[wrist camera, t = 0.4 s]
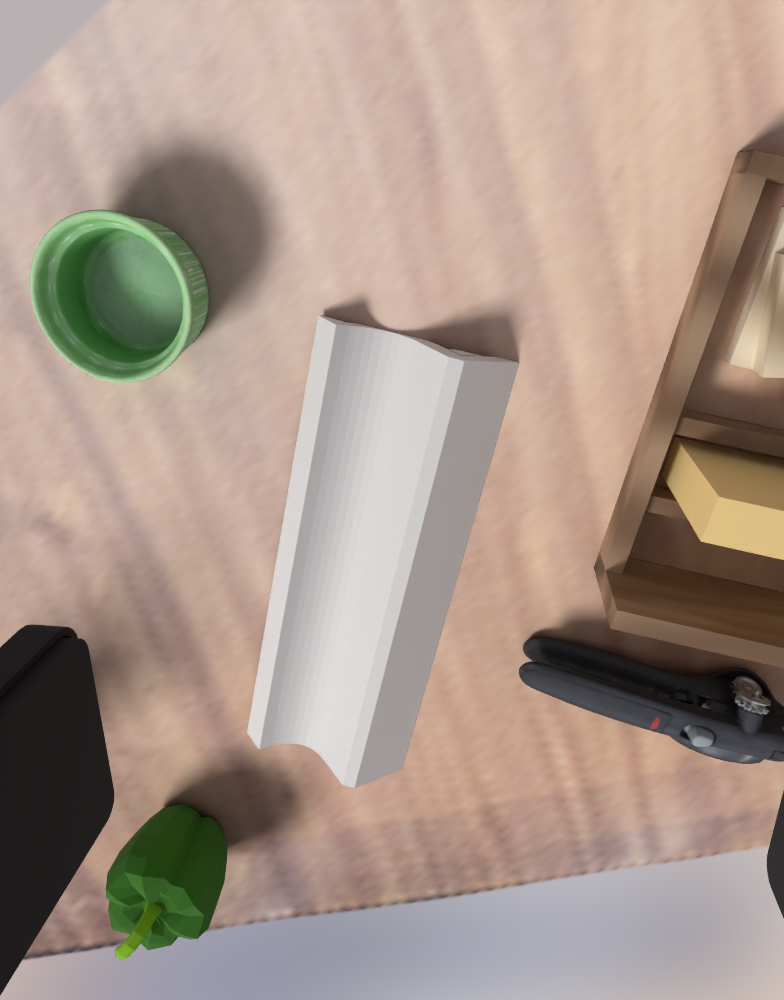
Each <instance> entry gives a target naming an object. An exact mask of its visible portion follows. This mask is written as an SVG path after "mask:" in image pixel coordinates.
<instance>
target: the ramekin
mask: <svg viewBox="0 0 784 1000" xmlns="http://www.w3.org/2000/svg"><path fill="white" fill-rule="evenodd" d="M30 291H31V299H32V304H33V308H34V311H35V314H36V317H37V319H38V321H39V324H40V326H41V328H42V329H43V331H44V333H45V335H46V336H47V338H48V339H49V341H50V342H51V343H52V345H53V346H54V347H55V349H56V350H57V351H58V352H59V353H60V354H61V355H62V356H63V357H64V358H65V359H66V360H68V361H69V362H70V363H71V364H73V365H74V366H75V367H77V368H78V369H80V370H81V371H83V372H85V373H87V374H89V375H91V376H93V377H96V378H98V379H102V380H106V381H110V382H117V383H130V382H137V381H142V380H145V379H148V378H151V377H153V376H155V375H157V374H159V373H161V372H162V371H164V370H165V369H167V368H168V367H169V366H170V365H171V364H172V363H173V362H174V361H175V360H176V359H177V358H178V357H179V355H180V354H181V353H182V352H183V351H184V350H185V349H186V348H187V347H188V346H189V345H191V344H192V343H193V341H194V340H195V339H196V338H197V336H198V335H199V333H200V331H201V329H202V327H203V325H204V323H205V320H206V316H207V312H208V301H209V296H208V287H207V281H206V278H205V275H204V272H203V269H202V266H201V265H200V262H199V260H198V259H197V257H196V256H195V254H194V252H193V251H192V250H191V248H190V247H189V246H188V245H187V243H186V242H185V241H184V240H182V239H181V238H180V237H179V236H178V235H177V234H176V233H174V232H173V231H172V230H170V229H169V228H167V227H165V226H163V225H161V224H159V223H156V222H154V221H151V220H148V219H143V218H138V217H131V216H128V215H126V214H123V213H119V212H115V211H109V210H88V211H83V212H79V213H76V214H73V215H70V216H68V217H66V218H64V219H63V220H61V221H59V222H58V223H57V224H56V225H54V226H53V227H52V228H51V229H50V230H49V231H48V232H47V234H46V235H45V236H44V237H43V239H42V240H41V242H40V244H39V246H38V248H37V250H36V252H35V255H34V258H33V262H32V266H31V272H30Z"/></svg>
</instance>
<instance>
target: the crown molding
mask: <svg viewBox="0 0 784 1000" xmlns="http://www.w3.org/2000/svg"><path fill="white" fill-rule="evenodd" d="M518 366H519V362H515V361H511V360H507V359H503V358H498V357H485V356H483V355H478V354H473V353H468V352H465V351H461V350H455V349H446V348H444V347H442V346H440V345H437V344H435V343H433V342H430V341H428V340H424V339H420V338H416V337H412V336H407V335H403V334H399V333H395V332H391V331H387V330H383V329H378V328H374V327H370V326H366V325H362V324H358V323H347V322H343V321H341V320H336V319H333V318H329V317H325V316H323V315H318V319H317V325H316V331H315V337H314V343H313V349H312V355H311V360H310V366H309V372H308V378H307V384H306V390H305V396H304V402H303V407H302V413H301V419H300V425H299V431H298V437H297V443H296V449H295V455H294V460H293V466H292V472H291V478H290V484H289V490H288V496H287V502H286V507H285V513H284V519H283V525H282V531H281V537H280V543H279V549H278V554H277V560H276V566H275V572H274V578H273V584H272V590H271V596H270V602H269V607H268V613H267V619H266V625H265V631H264V637H263V643H262V649H261V654H260V660H259V666H258V672H257V678H256V684H255V690H254V696H253V702H252V707H251V713H250V719H249V725H248V731H247V733H248V734H249V736H250V737H251V739H252V740H253V741H254V743H255V744H256V746H257V747H258V749H259V750H261V749H264V748H267V747H270V746H273V745H278V744H288V743H293V744H300V745H304V746H307V747H309V748H311V749H313V750H314V751H316V752H317V753H318V754H319V755H320V756H321V757H322V758H323V759H324V761H325V762H326V763H327V765H328V766H329V767H330V769H331V770H332V771H333V773H334V774H335V775H336V777H337V778H338V779H339V781H340V782H341V783H342V785H346V786H349V787H353V788H356V787H358V786H361V785H363V784H366V783H368V782H371V781H373V780H376V779H378V778H381V777H383V776H385V775H388V774H390V773H393V772H395V771H398V770H400V769H403V765H404V762H405V758H406V755H407V751H408V748H409V744H410V741H411V737H412V734H413V730H414V727H415V723H416V720H417V716H418V713H419V710H420V706H421V703H422V699H423V696H424V692H425V689H426V685H427V682H428V678H429V675H430V671H431V668H432V664H433V661H434V657H435V654H436V650H437V647H438V644H439V640H440V637H441V633H442V630H443V626H444V623H445V619H446V616H447V612H448V609H449V605H450V602H451V598H452V595H453V591H454V588H455V584H456V581H457V578H458V574H459V571H460V567H461V564H462V560H463V557H464V553H465V550H466V546H467V543H468V539H469V536H470V532H471V529H472V525H473V522H474V518H475V515H476V512H477V508H478V505H479V501H480V498H481V494H482V491H483V487H484V484H485V480H486V477H487V473H488V470H489V466H490V463H491V459H492V456H493V453H494V449H495V446H496V442H497V439H498V435H499V432H500V428H501V425H502V421H503V418H504V414H505V411H506V407H507V404H508V400H509V397H510V393H511V390H512V387H513V383H514V380H515V376H516V373H517V369H518Z"/></svg>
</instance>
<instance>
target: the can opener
mask: <svg viewBox="0 0 784 1000" xmlns="http://www.w3.org/2000/svg"><path fill="white" fill-rule="evenodd" d="M523 650H524V653H525V655H526V656H527V657H528V658H529V659H531V660H532V662H527V663H525V664H523V665H522V666H521V667H520V669H519V675H520V678H521V680H522V681H523V682H524V683H525V684H526V685H528V686H530V687H531V688H533V689H536V690H538V691H541V692H543V693H545V694H548V695H550V696H552V697H555V698H558V699H560V700H562V701H565V702H567V703H570V704H572V705H575V706H578V707H580V708H583V709H586V710H589V711H591V712H594V713H597V714H600V715H603V716H606V717H609V718H612V719H615V720H618V721H621V722H624V723H628V724H630V725H634V726H637V727H640V728H644V729H647V730H651V731H654V732H658V733H661V734H665V735H669V736H671V737H672V738H673V739H674V740H676V741H677V742H679V743H680V744H682V745H684V746H686V747H688V748H689V749H692V750H694V751H696V752H698V753H701V754H704V755H706V756H709V757H713V758H716V759H720V760H724V761H729V762H735V763H742V764H753V763H759V762H761V761H763V760H764V759H766V760H771V761H784V707H783V706H782V705H781V704H780V703H778V702H777V701H776V700H775V699H774V697H773V695H772V693H771V692H770V690H769V688H768V686H767V685H766V683H765V682H764V681H763V680H762V679H761V678H760V677H759V676H758V675H757V674H755V673H754V672H752V671H749V670H747V669H743V668H733V669H728V670H724V671H721V672H718V673H715V674H712V675H708V676H686V675H680V674H674V673H671V672H667V671H663V670H660V669H657V668H654V667H651V666H648V665H645V664H642V663H639V662H636V661H633V660H630V659H627V658H624V657H621V656H618V655H615V654H611V653H608V652H605V651H602V650H598V649H595V648H591V647H588V646H584V645H580V644H576V643H571V642H567V641H562V640H557V639H552V638H546V637H533V638H531V639H529V640H527V641H526V642H525V643H524V646H523Z"/></svg>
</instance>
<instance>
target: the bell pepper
mask: <svg viewBox="0 0 784 1000" xmlns="http://www.w3.org/2000/svg"><path fill="white" fill-rule="evenodd" d="M226 863H227V843H226V840H225V838H224V835H223V833H222V830H221V828H220V825H219V824H218V823H217V822H216V821H215V820H213V819H212V818H211V817H202V818H201V817H200V815H199V814H198V812H197V811H196V810H194V809H192V808H190V807H188V806H186V805H184V804H181V805H173V806H168V807H166V808H163V809H162V810H160V811H159V812H158V813H156V814H155V815H154V816H153V817H151V818H150V819H149V820H148V821H147V822H146V823H145V824H144V825H143V826H142V827H141V828H140V829H139V830H138V831H137V832H136V833H135V835H134V836H133V837H132V838H131V839H130V840H129V842H128V843H127V844H126V845H125V846H124V847H123V848H122V850H121V851H120V853H119V854H118V856H117V858H116V859H115V861H114V863H113V865H112V866H111V868H110V870H109V872H108V875H107V884H106V898H107V899H109V909H108V910H109V916H110V921H111V926H112V929H113V930H116V931H120V932H123V933H127V934H130V935H129V937H128V938H127V939H126V941H125V942H123V943H122V944H121V945H120V946H118V947H117V948H116V950H115V956H116V957H118V958H119V959H121V960H122V959H125V958H127V957H129V956H130V955H131V954H132V953H133V952H134V951H135V950H136V949H137V947H138V946H139V945H140V944H142V945H143V946H144V947H145V948H146V949H147V950H150V949H156V948H160V947H165V946H170V945H171V944H172V943H173V942H174V941H175V940H176V939H177V938H178V937H184V938H187V939H198V938H199V937H200V936H201V935H202V934H203V933H204V932H205V931H206V930H207V929H208V928H209V925H210V922H211V919H212V916H213V914H214V911H215V908H216V905H217V902H218V899H219V896H220V893H221V890H222V887H223V884H224V880H225V871H226Z"/></svg>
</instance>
